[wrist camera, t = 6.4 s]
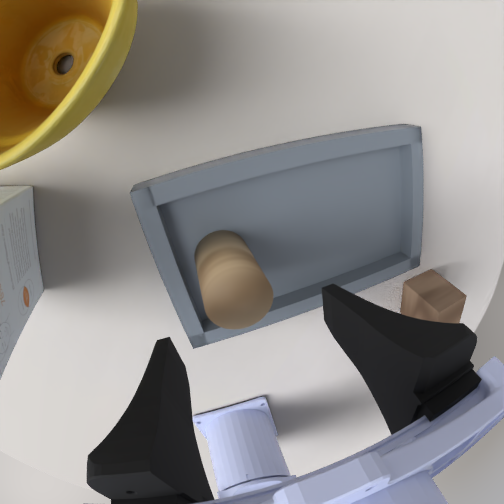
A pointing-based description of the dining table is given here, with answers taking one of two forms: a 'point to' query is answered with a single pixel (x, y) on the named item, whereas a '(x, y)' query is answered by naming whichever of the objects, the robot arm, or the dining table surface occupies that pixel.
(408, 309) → the walnut block
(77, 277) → the dining table surface
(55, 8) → the plant pot
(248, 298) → the oak peg
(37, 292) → the small box
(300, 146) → the parts tray
